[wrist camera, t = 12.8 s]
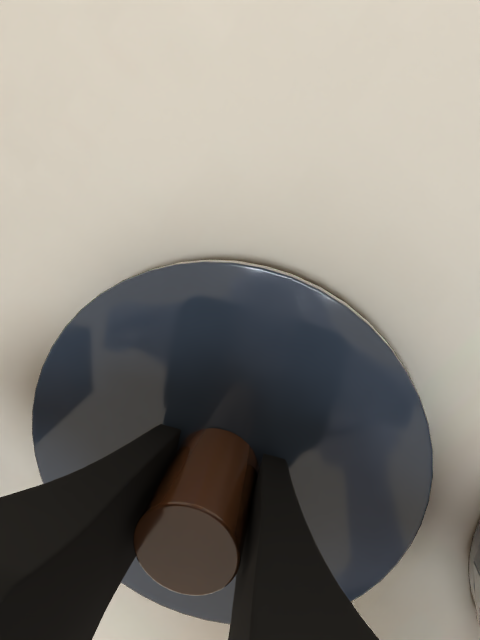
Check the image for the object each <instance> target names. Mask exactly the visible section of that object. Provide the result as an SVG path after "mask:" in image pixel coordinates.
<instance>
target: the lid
mask: <svg viewBox="0 0 480 640" xmlns="http://www.w3.org/2000/svg"><path fill="white" fill-rule="evenodd" d="M160 424H163V425H166V426H170V427H173V428H177V429H180V430H181V432H180V437H179V443H178V448H177V452H176V454H175V456H174V457H173V459H172V461H171V463H170V465H169V466H168V468H167V470H166V472H165V474H164V475H163V477H162V479H161V481H160V483H159V484H158V486H157V488H156V490H155V491H154V493H153V495H152V497H151V499H150V500H149V502H148V504H147V506H146V508H145V509H144V511H143V513H142V515H141V517H140V518H139V520H138V522H137V524H136V526H135V530H134V535H133V546H134V551H135V554H136V557H135V559H134V560H133V562H132V564H131V566H130V567H129V569H128V571H127V573H126V574H125V576H124V578H123V579H122V581H121V583H122V584H124V585H126V586H127V587H129V588H130V589H132V590H133V591H135V592H137V593H138V594H140V595H142V596H143V597H145V598H147V599H149V600H151V601H153V602H155V603H157V604H159V605H161V606H164V607H166V608H169V609H172V610H174V611H177V612H179V613H182V614H185V615H189V616H192V617H196V618H199V619H203V620H207V621H213V622H219V623H225V624H230V623H231V615H232V607H233V599H234V591H235V582H236V574H237V572H238V570H239V567H240V562H241V557H242V553H243V548H244V543H245V538H246V533H247V528H248V524H249V519H250V513H251V507H252V500H253V495H254V490H255V486H256V481H257V476H258V472H259V468H260V465H261V461H262V457H263V453H265V454H268V455H272V456H275V457H279V458H282V459H285V460H286V462H287V464H288V468H289V473H290V477H291V480H292V484H293V487H294V490H295V493H296V496H297V499H298V502H299V505H300V507H301V510H302V513H303V515H304V518H305V520H306V523H307V525H308V527H309V530H310V532H311V534H312V536H313V538H314V540H315V543H316V545H317V547H318V549H319V551H320V553H321V555H322V557H323V558H324V560H325V562H326V564H327V566H328V567H329V569H330V571H331V573H332V574H333V576H334V578H335V579H336V581H337V583H338V584H339V586H340V587H341V589H342V590H343V592H344V593H345V595H346V596H347V598H348V599H349V600H350V602H351V601H353V600H354V599H356V598H358V597H360V596H362V595H363V594H364V593H366V592H367V591H368V590H370V589H371V588H372V587H373V586H375V585H376V584H377V583H379V582H380V581H381V580H382V579H383V578H384V577H385V576H386V575H387V574H388V573H389V572H390V571H391V570H392V569H393V568H394V567H395V566H396V565H397V563H398V562H399V561H400V559H401V558H402V557H403V555H404V554H405V552H406V551H407V550H408V548H409V547H410V545H411V544H412V542H413V540H414V538H415V536H416V534H417V532H418V530H419V528H420V526H421V524H422V520H423V517H424V514H425V511H426V508H427V505H428V502H429V497H430V491H431V484H432V478H433V449H432V443H431V437H430V430H429V424H428V421H427V418H426V415H425V412H424V409H423V406H422V402H421V399H420V397H419V395H418V393H417V391H416V389H415V387H414V385H413V383H412V381H411V379H410V377H409V375H408V373H407V371H406V369H405V367H404V366H403V364H402V363H401V361H400V360H399V358H398V357H397V355H396V354H395V353H394V351H393V350H392V348H391V347H390V345H389V344H388V343H387V341H386V340H385V339H384V338H383V337H382V336H381V335H380V334H379V333H378V332H377V331H376V330H375V328H374V327H373V326H372V325H371V324H370V323H369V322H368V321H367V320H366V319H364V318H363V317H362V316H361V315H360V314H358V313H357V312H356V311H355V310H354V309H352V308H351V307H350V306H349V305H348V304H346V303H345V302H344V301H342V300H340V299H339V298H337V297H336V296H334V295H332V294H331V293H329V292H328V291H326V290H324V289H323V288H321V287H319V286H317V285H315V284H313V283H311V282H309V281H306V280H304V279H302V278H300V277H298V276H296V275H293V274H290V273H287V272H284V271H281V270H277V269H274V268H271V267H268V266H264V265H258V264H253V263H247V262H241V261H233V260H198V261H188V262H179V263H174V264H170V265H166V266H162V267H158V268H154V269H151V270H148V271H146V272H143V273H141V274H138V275H136V276H133V277H131V278H128V279H126V280H123V281H122V282H120V283H118V284H116V285H115V286H113V287H111V288H110V289H108V290H106V291H104V292H103V293H101V294H100V295H98V296H97V297H96V298H95V299H93V300H92V301H91V302H90V303H88V304H87V305H86V306H85V307H83V308H82V309H81V310H80V311H79V312H78V313H77V314H76V316H75V317H74V318H73V319H72V320H71V321H70V322H69V323H68V324H67V325H66V326H65V328H64V329H63V331H62V332H61V334H60V335H59V337H58V338H57V340H56V341H55V343H54V344H53V346H52V348H51V350H50V352H49V354H48V356H47V358H46V360H45V363H44V365H43V367H42V370H41V373H40V376H39V380H38V383H37V386H36V391H35V397H34V404H33V411H32V435H33V443H34V451H35V457H36V461H37V464H38V468H39V472H40V476H41V479H42V481H43V484H45V483H48V482H50V481H53V480H55V479H58V478H60V477H63V476H66V475H68V474H70V473H73V472H75V471H77V470H79V469H82V468H84V467H86V466H88V465H90V464H92V463H94V462H96V461H98V460H100V459H102V458H103V457H105V456H107V455H109V454H111V453H113V452H114V451H116V450H118V449H119V448H121V447H123V446H125V445H126V444H128V443H130V442H131V441H133V440H135V439H136V438H138V437H140V436H141V435H143V434H144V433H146V432H148V431H149V430H151V429H153V428H154V427H156V426H158V425H160Z"/></svg>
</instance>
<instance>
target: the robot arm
mask: <svg viewBox="0 0 480 640" xmlns="http://www.w3.org/2000/svg"><path fill="white" fill-rule="evenodd" d="M180 432H181V430H180V429H177V428H173V427H170V426H166V425H163V424H160V425H158V426H156V427H154V428H153V429H151V430H149V431H148V432H146V433H144V434H143V435H141V436H140V437H138V438H136V439H135V440H133V441H131V442H130V443H128V444H126V445H125V446H123V447H121V448H119V449H118V450H116V451H114V452H113V453H111V454H109V455H107V456H105V457H103V458H102V459H100V460H98V461H96V462H94V463H92V464H90V465H88V466H86V467H84V468H82V469H79V470H77V471H75V472H73V473H70V474H68V475H66V476H63V477H60V478H58V479H55V480H53V481H50V482H48V483H45V484H42V485H39V486H36V487H33V488H29V489H26V490H23V491H20V492H17V493H13V494H10V495H7V496H4V497H0V640H92V638H93V636H94V634H95V632H96V629H97V627H98V625H99V623H100V621H101V619H102V617H103V614H104V612H105V610H106V608H107V607H108V605H109V603H110V601H111V599H112V597H113V595H114V593H115V592H116V590H117V588H118V586H119V585H120V583H121V581H122V579H123V578H124V576H125V574H126V573H127V571H128V569H129V567H130V566H131V564H132V562H133V560H134V559H135V557H136V554H135V551H134V546H133V535H134V530H135V526H136V524H137V522H138V520H139V518H140V517H141V515H142V513H143V511H144V509H145V508H146V506H147V504H148V502H149V500H150V499H151V497H152V495H153V493H154V491H155V490H156V488H157V486H158V484H159V483H160V481H161V479H162V477H163V475H164V474H165V472H166V470H167V468H168V466H169V465H170V463H171V461H172V459H173V457H174V456H175V454H176V452H177V448H178V443H179V437H180ZM228 640H379V639H378V638H377V637H376V635H375V634H374V633H373V632H372V630H371V629H370V628H369V627H368V625H367V624H366V623H365V621H364V620H363V619H362V617H361V616H360V615H359V613H358V612H357V611H356V609H355V608H354V606H353V605H352V603H351V602H350V600H349V599H348V598H347V596H346V595H345V593H344V592H343V590H342V589H341V587H340V586H339V584H338V583H337V581H336V579H335V578H334V576H333V574H332V573H331V571H330V569H329V567H328V566H327V564H326V562H325V560H324V558H323V557H322V555H321V553H320V551H319V549H318V547H317V545H316V543H315V540H314V538H313V536H312V534H311V532H310V530H309V527H308V525H307V523H306V520H305V518H304V515H303V513H302V510H301V507H300V505H299V502H298V499H297V496H296V493H295V490H294V487H293V484H292V480H291V477H290V473H289V468H288V464H287V462H286V460H285V459H282V458H279V457H275V456H272V455H268V454H265V453H263V457H262V461H261V465H260V468H259V472H258V476H257V481H256V486H255V490H254V495H253V500H252V507H251V513H250V519H249V524H248V528H247V533H246V538H245V543H244V548H243V553H242V557H241V562H240V567H239V570H238V572H237V574H236V582H235V591H234V599H233V607H232V615H231V623H230V632H229V638H228Z"/></svg>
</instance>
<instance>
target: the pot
mask: <svg viewBox="0 0 480 640" xmlns="http://www.w3.org/2000/svg"><path fill="white" fill-rule="evenodd" d="M469 579H470V586H471V592H472V597H473V600H474V603H475V606H476V614H477V620H478V623H479V625H480V520H479V523H478V525H477V528H476V531H475V533H474V536H473V541H472V546H471V551H470V556H469Z"/></svg>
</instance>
